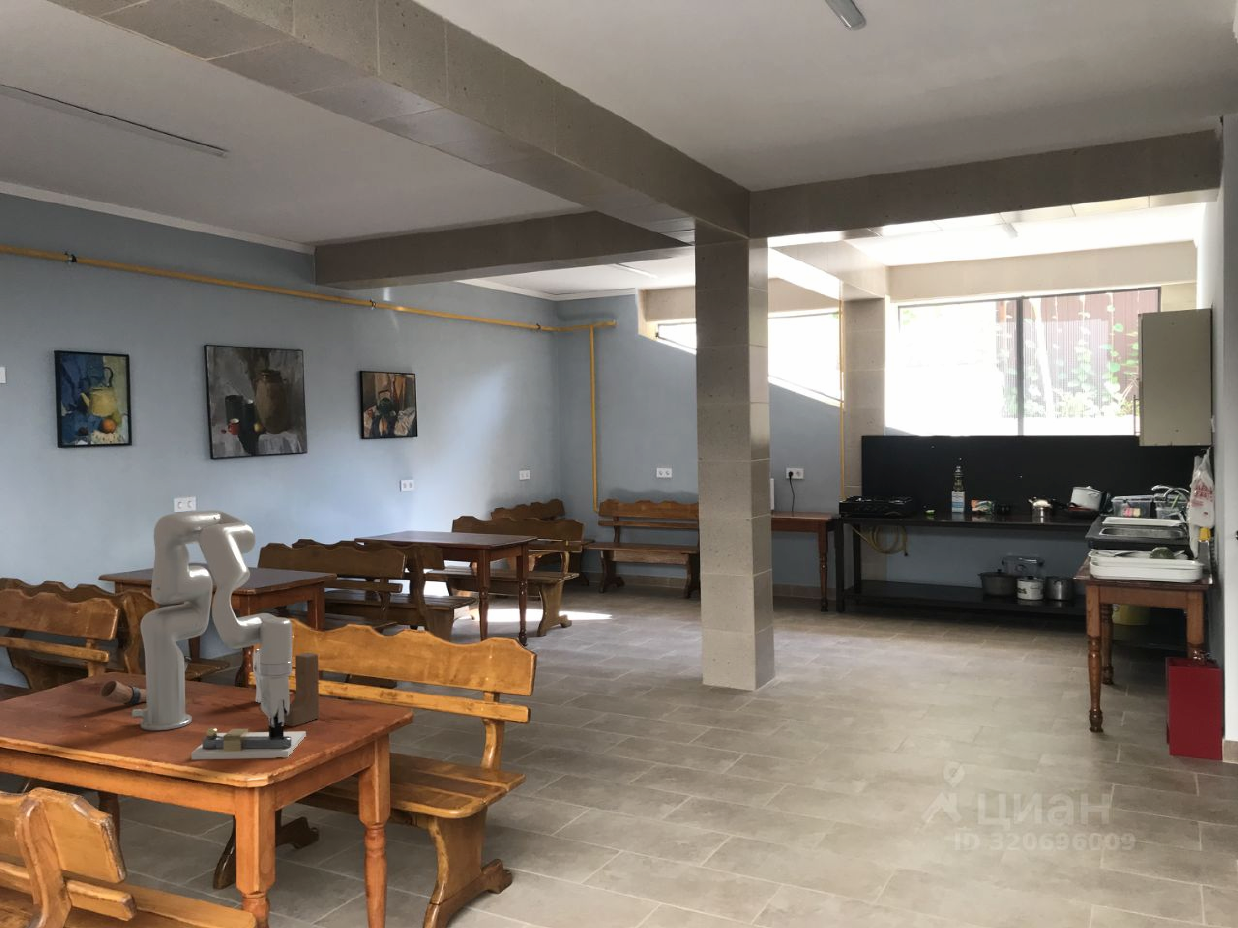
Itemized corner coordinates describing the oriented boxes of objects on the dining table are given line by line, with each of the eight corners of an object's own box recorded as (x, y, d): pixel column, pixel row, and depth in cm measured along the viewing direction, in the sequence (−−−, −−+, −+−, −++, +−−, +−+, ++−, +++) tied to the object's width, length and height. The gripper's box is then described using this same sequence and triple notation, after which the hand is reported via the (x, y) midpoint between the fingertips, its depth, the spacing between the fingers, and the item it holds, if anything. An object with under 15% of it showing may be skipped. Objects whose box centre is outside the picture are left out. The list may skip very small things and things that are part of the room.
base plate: (191, 759, 239) (191, 753, 239) (215, 738, 255) (215, 732, 255) (288, 757, 241) (287, 751, 240) (305, 736, 256) (305, 731, 256)
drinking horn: (96, 712, 281) (96, 677, 280) (184, 687, 308) (183, 655, 307) (110, 714, 278) (109, 679, 278) (197, 689, 305) (196, 657, 305)
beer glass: (264, 705, 287) (263, 653, 286) (248, 701, 290) (247, 651, 290) (283, 699, 293) (283, 649, 292) (268, 696, 296) (267, 646, 296)
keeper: (201, 752, 240) (201, 733, 240) (210, 744, 246) (210, 726, 246) (240, 751, 240) (240, 732, 240) (248, 743, 246) (248, 725, 246)
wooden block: (292, 727, 265) (291, 660, 265) (281, 724, 268) (280, 658, 267) (319, 718, 273) (318, 653, 272) (309, 716, 275) (308, 652, 275)
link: (199, 749, 241) (199, 741, 241) (207, 743, 246) (206, 735, 246) (288, 749, 241) (287, 740, 241) (294, 743, 246) (294, 735, 245)
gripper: (253, 663, 250) (253, 735, 251) (267, 677, 238) (268, 752, 239) (284, 660, 254) (284, 730, 255) (299, 673, 242) (299, 747, 243)
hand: (276, 741), depth 247 cm, fingers closed
